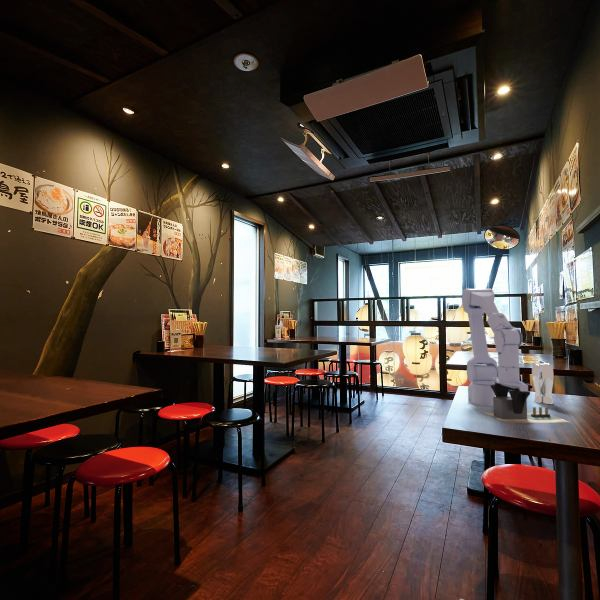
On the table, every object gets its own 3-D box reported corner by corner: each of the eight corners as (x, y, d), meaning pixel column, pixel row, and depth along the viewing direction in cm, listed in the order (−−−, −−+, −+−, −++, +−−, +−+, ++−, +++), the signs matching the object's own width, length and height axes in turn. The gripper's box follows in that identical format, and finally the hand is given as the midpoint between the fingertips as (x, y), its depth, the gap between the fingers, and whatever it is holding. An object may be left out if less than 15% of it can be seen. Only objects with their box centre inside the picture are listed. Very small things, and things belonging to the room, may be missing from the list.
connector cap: (493, 415, 114) (493, 396, 114) (517, 415, 114) (517, 396, 115) (502, 419, 110) (501, 399, 110) (527, 419, 110) (526, 399, 110)
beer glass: (556, 402, 138) (554, 363, 139) (552, 405, 133) (551, 365, 134) (534, 399, 143) (533, 362, 144) (531, 402, 138) (529, 363, 139)
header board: (484, 417, 118) (483, 403, 118) (542, 416, 119) (541, 402, 119) (507, 428, 106) (506, 412, 106) (571, 427, 107) (570, 412, 107)
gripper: (483, 364, 120) (484, 405, 119) (511, 369, 105) (512, 416, 105) (503, 364, 120) (505, 404, 119) (534, 369, 106) (535, 416, 105)
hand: (510, 410), depth 112 cm, fingers open, 7 cm apart
